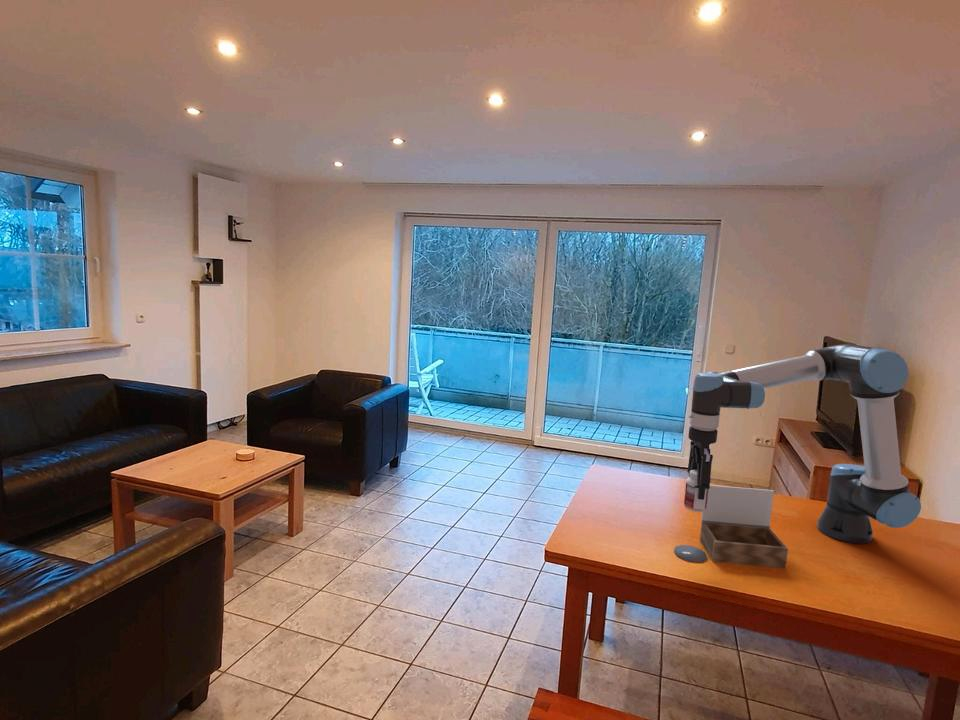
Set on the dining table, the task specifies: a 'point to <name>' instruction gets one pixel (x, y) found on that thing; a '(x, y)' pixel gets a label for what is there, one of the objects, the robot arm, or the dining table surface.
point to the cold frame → (743, 545)
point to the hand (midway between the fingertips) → (695, 503)
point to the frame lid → (738, 506)
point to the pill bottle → (692, 492)
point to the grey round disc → (690, 553)
